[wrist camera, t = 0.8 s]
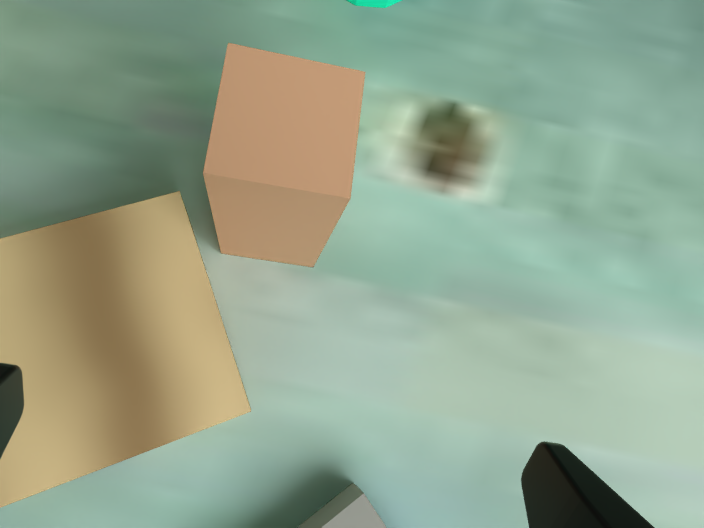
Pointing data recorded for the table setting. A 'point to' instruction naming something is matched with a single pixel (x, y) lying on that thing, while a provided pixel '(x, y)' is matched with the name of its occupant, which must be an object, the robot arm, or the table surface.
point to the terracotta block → (281, 154)
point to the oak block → (110, 343)
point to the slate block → (346, 512)
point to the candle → (374, 3)
